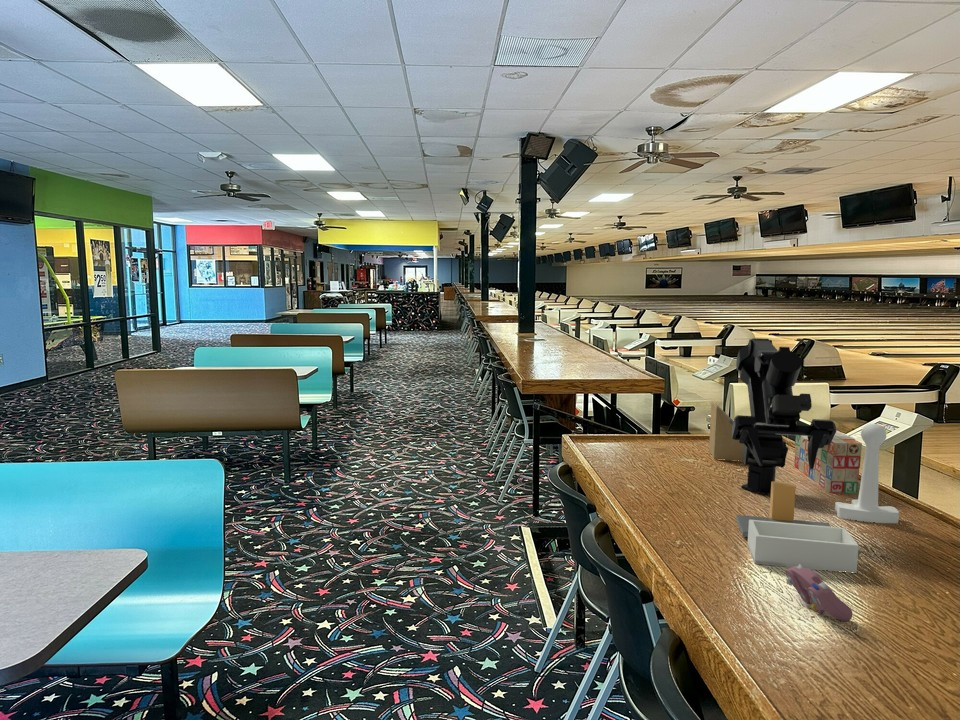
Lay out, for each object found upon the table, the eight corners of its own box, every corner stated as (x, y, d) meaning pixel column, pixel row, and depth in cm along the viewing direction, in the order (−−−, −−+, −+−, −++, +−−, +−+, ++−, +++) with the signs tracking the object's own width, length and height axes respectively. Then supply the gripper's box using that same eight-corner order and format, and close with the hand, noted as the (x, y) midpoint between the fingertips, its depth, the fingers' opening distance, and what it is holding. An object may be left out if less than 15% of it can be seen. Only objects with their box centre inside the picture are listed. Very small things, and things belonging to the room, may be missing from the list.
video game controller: (791, 600, 104) (775, 564, 103) (816, 587, 104) (800, 550, 103) (830, 634, 94) (812, 594, 93) (858, 619, 94) (840, 579, 93)
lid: (734, 520, 134) (737, 478, 133) (825, 528, 130) (828, 485, 129) (742, 540, 124) (745, 495, 123) (841, 550, 120) (844, 503, 119)
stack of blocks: (793, 466, 172) (796, 421, 170) (817, 467, 171) (821, 421, 170) (830, 493, 151) (834, 441, 149) (858, 494, 150) (862, 442, 149)
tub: (747, 545, 121) (748, 519, 121) (842, 554, 117) (844, 527, 117) (754, 563, 113) (756, 536, 113) (856, 574, 110) (858, 545, 109)
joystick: (839, 519, 134) (847, 424, 132) (830, 507, 142) (837, 416, 139) (900, 524, 131) (909, 427, 129) (887, 511, 139) (895, 419, 136)
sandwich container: (773, 463, 175) (777, 408, 173) (713, 460, 177) (716, 406, 175) (765, 455, 183) (769, 402, 181) (708, 452, 186) (711, 400, 184)
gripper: (736, 376, 133) (741, 442, 124) (837, 380, 129) (850, 449, 119) (729, 407, 142) (733, 470, 132) (823, 411, 137) (834, 478, 128)
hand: (786, 466), depth 128 cm, fingers open, 9 cm apart
